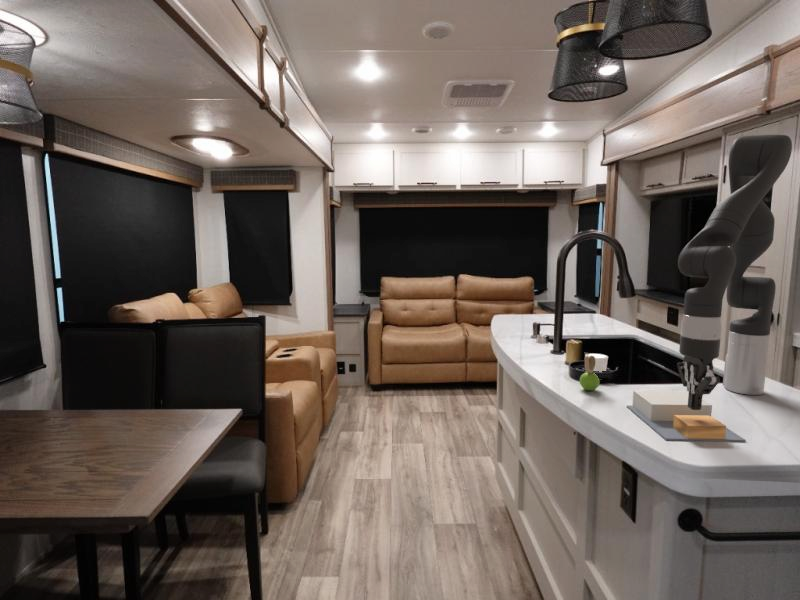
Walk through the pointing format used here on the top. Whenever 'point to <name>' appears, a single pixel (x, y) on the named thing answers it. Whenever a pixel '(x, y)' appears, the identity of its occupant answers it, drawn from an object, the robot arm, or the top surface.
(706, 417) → the orange flat block
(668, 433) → the mat
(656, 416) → the white rectangular block
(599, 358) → the white chunky block
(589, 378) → the green maraca
